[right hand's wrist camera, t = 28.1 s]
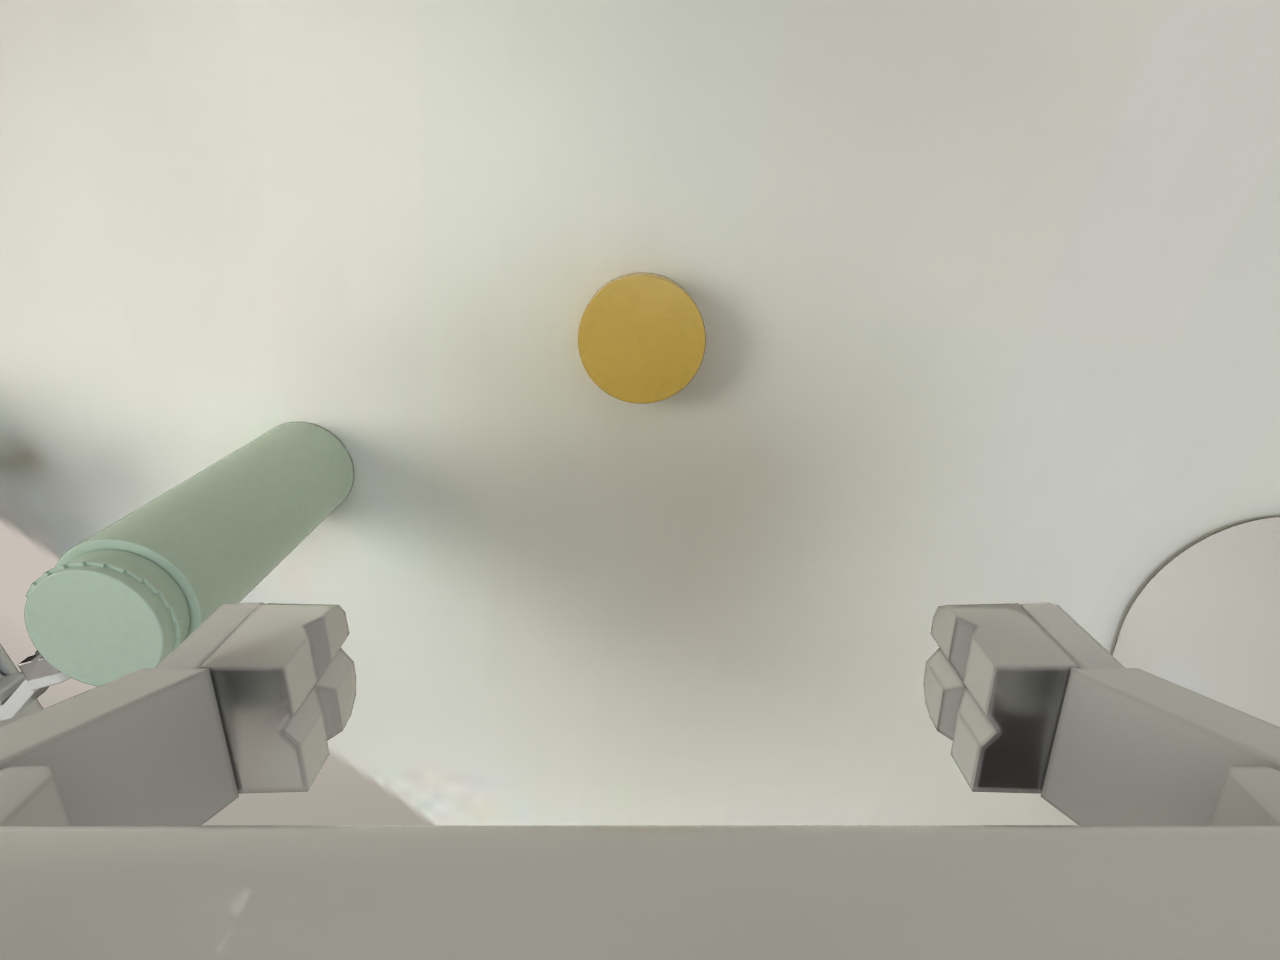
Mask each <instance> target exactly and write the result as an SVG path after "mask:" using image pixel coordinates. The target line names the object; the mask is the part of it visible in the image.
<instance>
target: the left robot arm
mask: <svg viewBox="0 0 1280 960" xmlns="http://www.w3.org/2000/svg"><path fill="white" fill-rule="evenodd" d="M18 666H19V668H20V669H21V671H22V672H19V671H18V670H17V668H16V667H15V665H14V664H13V662H12V661H11V659H10V658H9V656H8V655H7V653H6V652H5V650H4V648H3V647H2V645H1V644H0V727H2V726H4V725H6V724H9V723H11V722H14V721H16V720H19V719H21V718H23V717H26V716H28V715H31V714H33V713H35V712H38V711H40V710H43V707H42V706H41V704H40V703H39V701H38V700H37V698H38V697H39V696H40V695H41V694H43V693H44V692H45V691H46V690H47V688H48V687H49V686H50V685H54V684H58V683H62V682H64V681H66V680H68V679H70V678H71V677H69V676H67V675H65V674H64V673H62V672H61V671H59V670H58V669H56V668H55V667H54V666H52V665H51V664H50V663H49V662H48V661H47V660H46V659H45V658H44V657H43V656H42V655H41V654H40V653H39V651H38V650H37V651H36V653H35V655H33V656H30V657H28V658H26V659H25V660H24V661H22V662H21V663H20V664H18Z"/></svg>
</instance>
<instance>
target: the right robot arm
mask: <svg viewBox="0 0 1280 960" xmlns="http://www.w3.org/2000/svg"><path fill="white" fill-rule="evenodd" d="M348 635H349V629H348V624H347V619H346V613H345V611H344V610H343V609H342V608H341V607H340V606H339V605H322V604H265V603H233V604H225V605H222V606H221V607H220V608H218V609H217V610H216V611H215V612H214V613H213V614H212V615H211V616H210V617H209V618H208V619H207V620H206V621H205V622H203V623H202V624H201V625H200V626H199V627H198V628H197V629H196V630H195V631H194V632H193V633H192V634H191V635H189V636H188V637H187V638H186V639H185V640H184V641H183V642H182V643H181V644H180V645H179V646H178V647H177V648H176V649H174V650H173V651H172V652H171V653H170V654H169V655H168V656H167V657H166V658H165V659H164V660H163V661H162V662H160V663H159V664H158V665H157V666H156V667H155V668H142V669H139V670H137V671H134V672H132V673H129V674H127V675H125V676H122V677H120V678H117V679H115V680H113V681H110V682H108V683H105V684H103V685H101V686H98V687H96V688H93V689H91V690H88V691H86V692H84V693H81V694H79V695H76V696H74V697H72V698H69V699H67V700H65V701H62V702H60V703H57V704H55V705H52V706H50V707H47V708H45V709H43V710H40V711H38V712H35V713H33V714H31V715H28V716H26V717H23V718H21V719H19V720H16V721H14V722H11V723H9V724H6V725H4V726H2V727H0V960H1280V517H1273V518H1265V519H1260V520H1254V521H1250V522H1246V523H1242V524H1239V525H1236V526H1233V527H1230V528H1228V529H1225V530H1222V531H1220V532H1218V533H1216V534H1213V535H1211V536H1209V537H1207V538H1205V539H1203V540H1201V541H1200V542H1198V543H1196V544H1195V545H1193V546H1191V547H1190V548H1188V549H1187V550H1185V551H1184V552H1182V553H1181V554H1180V555H1178V556H1177V557H1175V558H1174V559H1173V560H1172V561H1170V562H1169V563H1168V564H1167V565H1166V566H1165V567H1164V568H1162V569H1161V570H1160V571H1159V572H1158V573H1157V574H1156V575H1155V576H1154V577H1153V578H1152V579H1151V581H1150V582H1149V583H1148V584H1147V585H1146V586H1145V588H1144V589H1143V590H1142V591H1141V593H1140V594H1139V595H1138V597H1137V598H1136V600H1135V602H1134V603H1133V605H1132V606H1131V608H1130V610H1129V612H1128V614H1127V616H1126V618H1125V620H1124V622H1123V625H1122V627H1121V630H1120V633H1119V636H1118V640H1117V643H1116V646H1115V649H1114V652H1113V654H1112V655H1111V654H1110V653H1109V652H1108V651H1107V650H1106V649H1105V648H1104V647H1102V646H1101V645H1100V644H1099V643H1098V642H1097V641H1096V640H1095V639H1094V638H1093V637H1092V636H1091V635H1090V634H1089V633H1087V632H1086V631H1085V630H1084V629H1083V628H1082V627H1081V626H1080V625H1079V624H1078V623H1077V622H1076V621H1075V620H1074V619H1072V618H1071V617H1070V616H1069V615H1068V614H1067V613H1066V612H1065V611H1064V610H1063V609H1062V608H1061V607H1060V606H1058V605H1055V604H1052V603H1026V604H1018V603H1017V604H976V605H945V606H938V608H937V610H936V613H935V615H934V617H933V622H932V628H931V635H932V637H933V638H934V640H935V641H936V643H937V644H938V646H939V647H940V648H939V649H938V650H937V651H936V652H935V653H934V654H933V655H932V656H931V657H930V658H929V659H928V660H927V661H926V667H925V676H924V692H925V702H926V706H927V709H928V712H929V716H930V718H931V720H932V722H933V724H934V726H935V727H936V729H937V731H938V732H940V733H942V734H943V735H945V736H946V737H948V738H950V739H951V740H953V743H952V749H951V756H952V757H953V759H954V761H955V763H956V764H957V766H958V768H959V769H960V771H961V773H962V775H963V776H964V778H965V780H966V781H967V783H968V785H969V787H970V788H971V790H972V792H1007V793H1041V797H1042V798H1044V799H1045V800H1046V801H1048V802H1049V803H1050V804H1052V805H1053V806H1054V807H1055V808H1057V809H1058V810H1059V811H1061V812H1062V813H1063V814H1065V815H1066V816H1067V817H1069V818H1070V819H1071V820H1073V821H1074V822H1075V823H1077V824H1078V825H1079V826H201V825H202V824H204V823H205V822H206V821H208V820H209V819H210V818H212V817H213V816H214V815H216V814H217V813H218V812H219V811H221V810H222V809H223V808H225V807H226V806H227V805H229V804H230V803H231V802H233V801H234V800H235V799H237V798H238V797H239V794H238V793H271V792H307V791H308V790H309V788H310V787H311V785H312V783H313V781H314V780H315V778H316V776H317V775H318V773H319V771H320V769H321V768H322V766H323V764H324V763H325V761H326V759H327V757H328V756H329V749H328V743H327V740H329V739H330V738H332V737H334V736H335V735H337V734H338V733H340V732H342V731H343V729H344V727H345V726H346V724H347V722H348V720H349V718H350V716H351V713H352V709H353V704H354V700H355V696H356V673H355V666H354V661H353V660H352V659H351V658H350V657H349V656H348V655H347V654H346V653H345V652H344V651H343V650H342V649H341V648H340V647H341V646H342V644H343V643H344V641H345V640H346V638H347V637H348Z"/></svg>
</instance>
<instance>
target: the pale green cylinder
mask: <svg viewBox="0 0 1280 960" xmlns="http://www.w3.org/2000/svg"><path fill="white" fill-rule="evenodd" d="M353 477H354V472H353V465H352V461H351V458H350V456H349V454H348V452H347V450H346V448H345V447H344V445H343V444H342V443H341V442H340V441H339V440H338V439H337V438H336V437H335V436H334V435H333V434H331V433H330V432H329V431H327V430H325V429H323V428H321V427H319V426H317V425H314V424H310V423H305V422H290V423H285V424H282V425H279V426H277V427H275V428H273V429H272V430H270V431H268V432H267V433H265V434H263V435H262V436H260V437H258V438H257V439H255V440H253V441H252V442H250V443H248V444H246V445H245V446H243V447H241V448H240V449H238V450H236V451H235V452H233V453H231V454H230V455H228V456H226V457H225V458H223V459H221V460H220V461H218V462H216V463H215V464H213V465H211V466H209V467H208V468H206V469H204V470H203V471H201V472H199V473H198V474H196V475H194V476H193V477H191V478H189V479H188V480H186V481H184V482H183V483H181V484H179V485H178V486H176V487H174V488H172V489H171V490H169V491H167V492H166V493H164V494H162V495H161V496H159V497H157V498H156V499H154V500H152V501H151V502H149V503H147V504H146V505H144V506H142V507H141V508H139V509H137V510H135V511H134V512H132V513H130V514H129V515H127V516H125V517H124V518H122V519H120V520H119V521H117V522H115V523H114V524H112V525H110V526H109V527H107V528H105V529H104V530H102V531H100V532H99V533H97V534H95V535H93V536H92V537H90V538H88V539H87V540H85V541H83V542H82V543H80V544H78V545H77V546H75V547H73V548H72V549H71V550H69V551H68V552H66V553H65V554H64V555H63V556H62V557H61V559H60V560H59V561H58V563H57V564H56V566H55V568H53V569H51V570H49V571H47V572H45V573H44V574H43V575H42V576H41V577H40V578H39V579H37V580H36V581H35V582H34V583H32V584H31V587H30V589H29V591H28V593H27V595H26V597H28V599H27V601H26V605H25V614H24V615H25V624H26V628H27V631H28V634H29V636H30V638H31V640H32V642H33V644H34V646H35V647H36V649H37V650H38V651H39V653H40V654H41V655H42V656H43V657H44V658H45V659H46V660H47V661H48V662H49V663H50V664H51V665H52V666H54V667H55V668H56V669H58V670H59V671H61V672H62V673H64V674H65V675H67V676H69V677H71V678H73V679H75V680H78V681H81V682H83V683H86V684H90V685H94V686H101V685H103V684H105V683H108V682H110V681H113V680H115V679H117V678H120V677H122V676H125V675H127V674H129V673H132V672H134V671H137V670H139V669H142V668H155V667H156V666H157V665H158V664H159V663H160V662H162V661H163V660H164V659H165V658H166V657H167V656H168V655H169V654H170V653H171V652H172V651H173V650H174V649H176V648H177V647H178V646H179V645H180V644H181V643H182V642H183V641H184V640H185V639H186V638H187V637H188V636H189V635H191V634H192V633H193V632H194V631H195V630H196V629H197V628H198V627H199V626H200V625H201V624H202V623H203V622H205V621H206V620H207V619H208V618H209V617H210V616H211V615H212V614H213V613H214V612H215V611H216V610H217V609H218V608H220V607H221V606H222V605H225V604H233V603H239V602H240V601H241V600H242V599H243V598H244V597H245V596H246V595H247V594H248V593H249V592H251V591H252V590H253V589H254V588H255V587H256V586H257V585H258V584H259V583H260V582H261V581H262V580H263V579H264V578H265V577H266V576H267V575H268V574H269V573H270V572H271V571H272V570H273V569H274V568H275V567H276V566H277V565H278V564H279V563H280V562H281V561H282V560H283V559H284V558H285V557H286V556H287V555H288V554H289V553H290V552H291V551H292V550H293V549H294V548H296V547H297V546H298V545H299V544H300V543H301V542H302V541H303V540H304V539H305V538H306V537H307V536H308V535H309V534H310V533H311V532H312V531H313V530H314V529H315V528H316V527H317V526H318V525H319V524H320V523H321V522H322V521H323V520H324V519H325V518H326V517H327V516H328V515H329V514H330V513H331V512H332V511H333V510H334V509H335V508H336V507H337V506H338V505H340V504H341V503H342V502H343V501H344V499H345V498H346V497H347V495H348V494H349V492H350V490H351V487H352V484H353Z"/></svg>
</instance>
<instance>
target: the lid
mask: <svg viewBox="0 0 1280 960" xmlns="http://www.w3.org/2000/svg"><path fill="white" fill-rule="evenodd" d="M705 340H706V336H705V328H704V324H703V320H702V317H701V315H700V312H699V310H698V308H697V307H696V305H695V303H694V301H693V300H692V298H691V297H690V296H689V294H688V293H687V292H686V291H685V290H684V289H683V288H682V287H680V286H679V285H678V284H677V283H675V282H673V281H672V280H670V279H668V278H666V277H663V276H661V275H657V274H652V273H632V274H627V275H624V276H620V277H618V278H616V279H614V280H612V281H610V282H609V283H607V284H606V285H605V286H603V287H602V288H601V289H600V290H599V291H598V292H597V293H596V294H595V295H594V297H593V298H592V299H591V301H590V302H589V304H588V306H587V308H586V310H585V312H584V314H583V316H582V319H581V322H580V327H579V334H578V347H579V352H580V357H581V360H582V363H583V365H584V367H585V369H586V371H587V373H588V374H589V376H590V377H591V379H592V380H593V381H594V382H595V384H597V385H598V386H599V387H600V388H601V389H602V390H603V391H605V392H606V393H608V394H609V395H611V396H613V397H615V398H617V399H620V400H622V401H626V402H630V403H653V402H657V401H661V400H664V399H666V398H669V397H671V396H673V395H674V394H676V393H678V392H679V391H680V390H681V389H683V388H684V387H685V386H686V385H687V384H688V383H689V382H690V381H691V379H692V378H693V377H694V376H695V374H696V372H697V371H698V369H699V367H700V364H701V362H702V359H703V355H704V351H705Z"/></svg>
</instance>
